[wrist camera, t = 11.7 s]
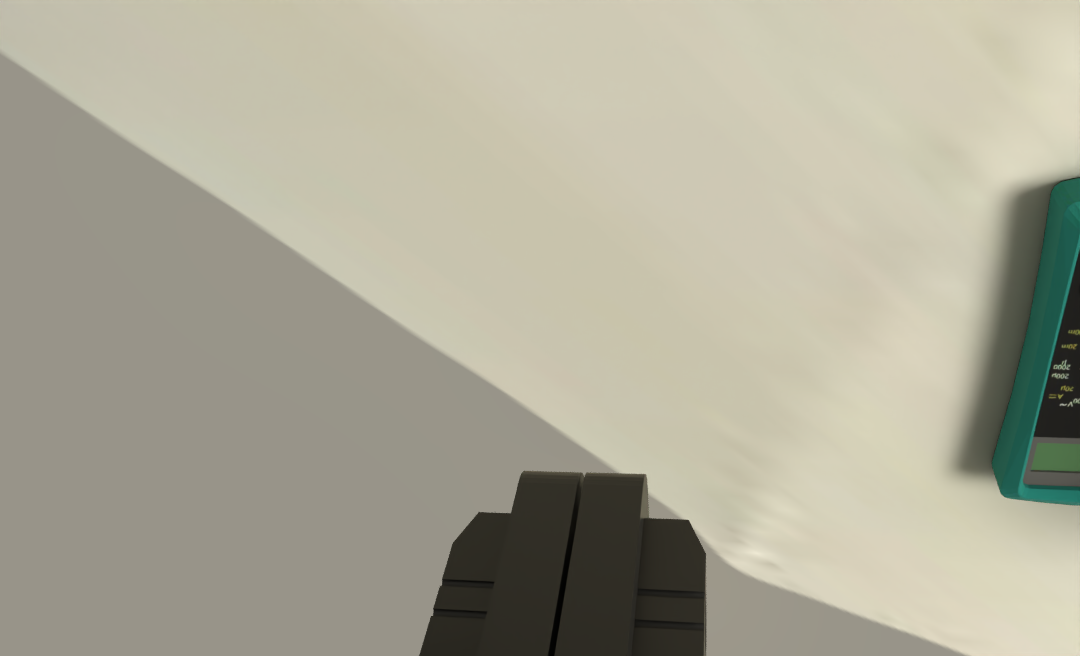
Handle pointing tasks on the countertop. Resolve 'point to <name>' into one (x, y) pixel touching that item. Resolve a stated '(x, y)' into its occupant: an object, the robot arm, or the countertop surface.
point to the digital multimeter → (1074, 379)
